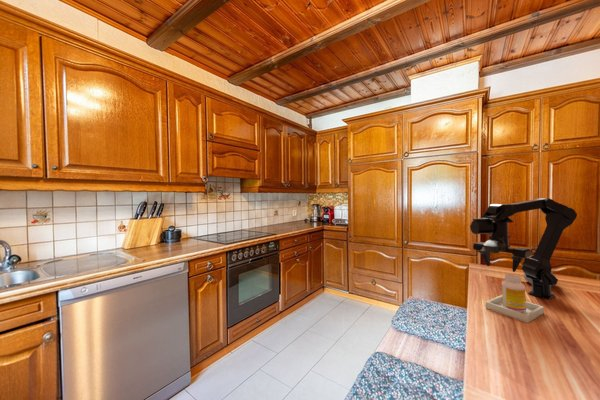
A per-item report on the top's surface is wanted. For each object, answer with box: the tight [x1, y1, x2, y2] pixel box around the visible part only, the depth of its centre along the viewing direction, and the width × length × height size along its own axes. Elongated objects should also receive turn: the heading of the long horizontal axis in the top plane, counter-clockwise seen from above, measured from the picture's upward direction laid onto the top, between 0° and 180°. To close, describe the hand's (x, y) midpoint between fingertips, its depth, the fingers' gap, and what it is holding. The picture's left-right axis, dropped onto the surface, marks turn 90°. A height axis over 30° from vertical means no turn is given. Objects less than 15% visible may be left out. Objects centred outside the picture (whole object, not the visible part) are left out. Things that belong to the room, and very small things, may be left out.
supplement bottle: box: [501, 273, 527, 313], centre depth 89 cm, size 7×7×13 cm
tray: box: [485, 294, 545, 324], centre depth 89 cm, size 13×13×2 cm
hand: (500, 268), depth 100 cm, fingers open, 9 cm apart
